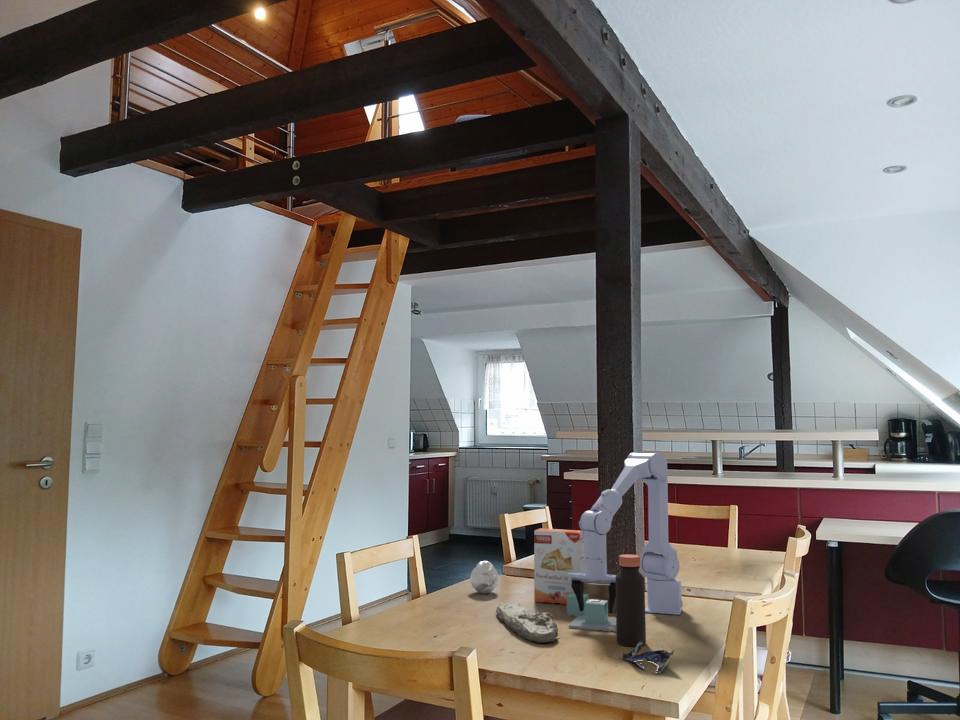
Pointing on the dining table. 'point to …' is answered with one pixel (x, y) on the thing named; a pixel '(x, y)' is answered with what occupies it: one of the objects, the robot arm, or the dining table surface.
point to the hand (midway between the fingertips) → (596, 611)
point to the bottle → (630, 602)
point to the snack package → (649, 657)
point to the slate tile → (580, 624)
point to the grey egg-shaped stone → (484, 577)
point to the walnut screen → (598, 592)
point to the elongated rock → (528, 622)
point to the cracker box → (556, 563)
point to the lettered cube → (596, 611)
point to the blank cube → (575, 604)
